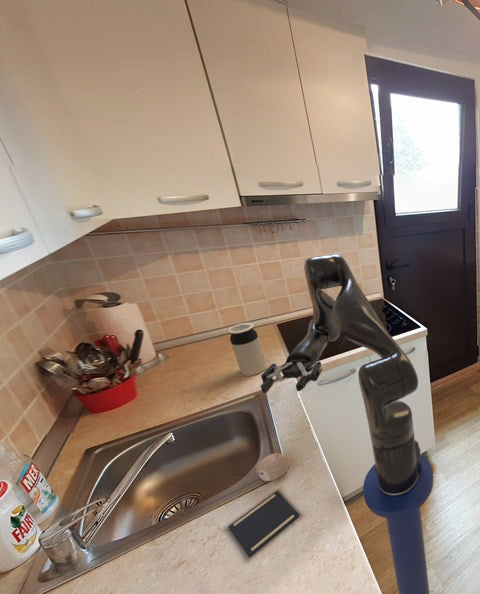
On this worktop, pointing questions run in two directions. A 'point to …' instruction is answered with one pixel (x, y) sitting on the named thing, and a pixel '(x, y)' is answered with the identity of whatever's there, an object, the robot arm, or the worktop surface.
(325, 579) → the worktop surface
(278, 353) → the worktop surface
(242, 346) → the travel mug
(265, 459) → the tan rounded piece
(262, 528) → the slate mat
